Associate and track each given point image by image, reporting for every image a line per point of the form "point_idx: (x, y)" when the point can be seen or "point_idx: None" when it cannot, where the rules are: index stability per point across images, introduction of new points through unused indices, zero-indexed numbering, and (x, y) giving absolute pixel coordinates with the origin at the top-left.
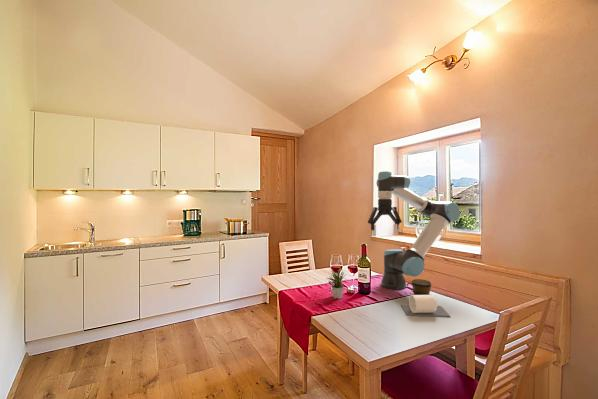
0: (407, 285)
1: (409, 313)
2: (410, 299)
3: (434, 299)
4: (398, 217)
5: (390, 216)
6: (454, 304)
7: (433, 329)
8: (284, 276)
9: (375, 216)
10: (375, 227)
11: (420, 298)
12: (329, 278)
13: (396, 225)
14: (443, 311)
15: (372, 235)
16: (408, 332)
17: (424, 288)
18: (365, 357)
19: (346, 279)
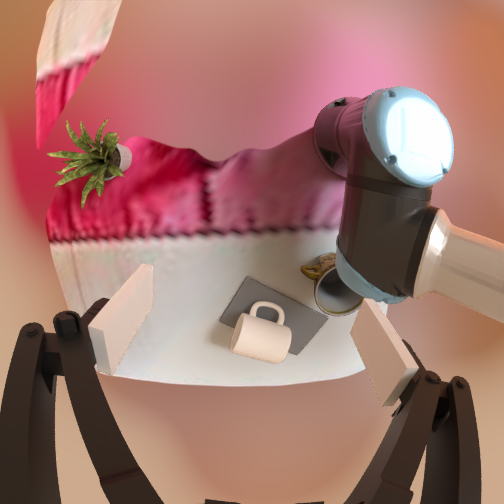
0: (301, 270)
1: (226, 321)
2: (246, 320)
3: (276, 363)
4: (432, 457)
5: (375, 470)
6: None
7: (223, 370)
8: None
9: (80, 431)
10: (119, 354)
11: (246, 355)
12: (62, 174)
13: (380, 395)
14: (304, 339)
15: (141, 267)
16: (176, 360)
17: (325, 306)
18: (94, 367)
19: (119, 168)
